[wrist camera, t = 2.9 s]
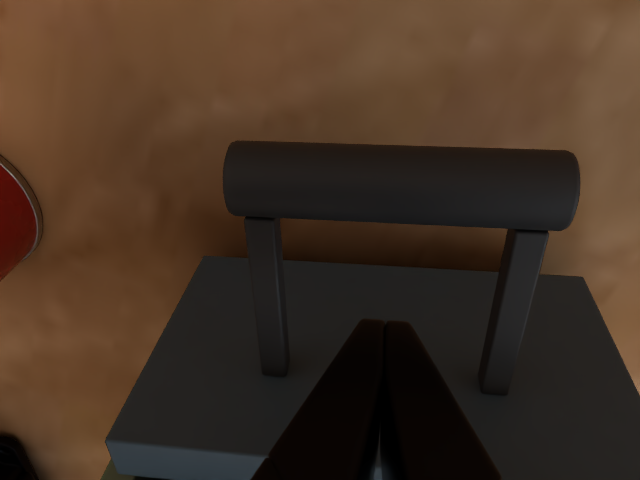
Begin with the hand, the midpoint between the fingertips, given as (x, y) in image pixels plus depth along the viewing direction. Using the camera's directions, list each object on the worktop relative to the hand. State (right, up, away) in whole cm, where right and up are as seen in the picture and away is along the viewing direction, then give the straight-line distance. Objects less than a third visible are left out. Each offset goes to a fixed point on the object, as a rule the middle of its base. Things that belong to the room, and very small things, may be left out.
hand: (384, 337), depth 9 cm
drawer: (+1, -3, +9) cm, 10 cm away
